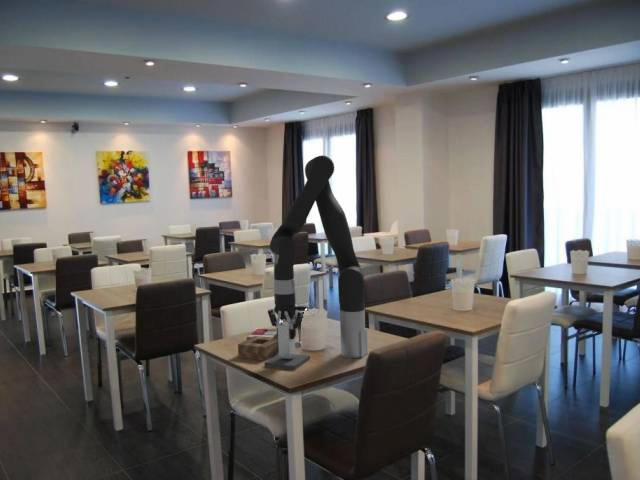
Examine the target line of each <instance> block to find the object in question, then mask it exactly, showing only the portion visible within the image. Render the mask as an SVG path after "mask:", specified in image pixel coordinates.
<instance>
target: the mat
mask: <svg viewBox="0 0 640 480" xmlns="http://www.w3.org/2000/svg"><path fill="white" fill-rule="evenodd" d="M310 359H311V358H310V355H307V354H306V355H305V354H297V353H296V355H295V356H294V357H292V358H291V359H286V358H279V353H278V354H276V355H274V356H273V357H271V358H269V359H268V360H265V361H264V367H267V368H274V369H280V370H281V369H282V370H289V371H296V370H297V369H298V368H300V367H302V366H303V365H304V364H306V363H307V362H309V361H310Z"/></svg>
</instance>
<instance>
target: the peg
mask: <svg viewBox="0 0 640 480" xmlns="http://www.w3.org/2000/svg"><path fill="white" fill-rule="evenodd" d="M295 343H296V337H295V338H294V339H291V336H290V325H289V323H288V322H283V323H281V324H279V325H278V344H279V353H278V354H279V358H286V359H291V358H292V357H294V356H295V355H296V354H297V353H296V347H295Z"/></svg>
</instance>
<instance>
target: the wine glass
mask: <svg viewBox="0 0 640 480" xmlns="http://www.w3.org/2000/svg"><path fill="white" fill-rule="evenodd" d="M295 307H296V309H297V310H298V311H309V310H310V309H309V307H308V306H303V305H297V306H295ZM294 318H295V322H296V318H297V316H296V313H295V315H294ZM296 329H297V334H298V341H297V342H296V341H295V348H302V347H301V342H302V331H301V325H300V326H299V327H298V328H296Z"/></svg>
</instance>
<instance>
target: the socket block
mask: <svg viewBox="0 0 640 480" xmlns="http://www.w3.org/2000/svg"><path fill="white" fill-rule="evenodd" d="M237 351H238V352H237V353H238V354H237V355H238V358H242V359H243V358H244V359H251V360H259V361H268V360H269V359H271V358H273V357H274V356H276V355H278V354H279V344H278V338H270V337H260V336H254V337H252V338H250V339H248V340H247V339H246V340H243V341H242V342H240V343H238V344H237Z"/></svg>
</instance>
